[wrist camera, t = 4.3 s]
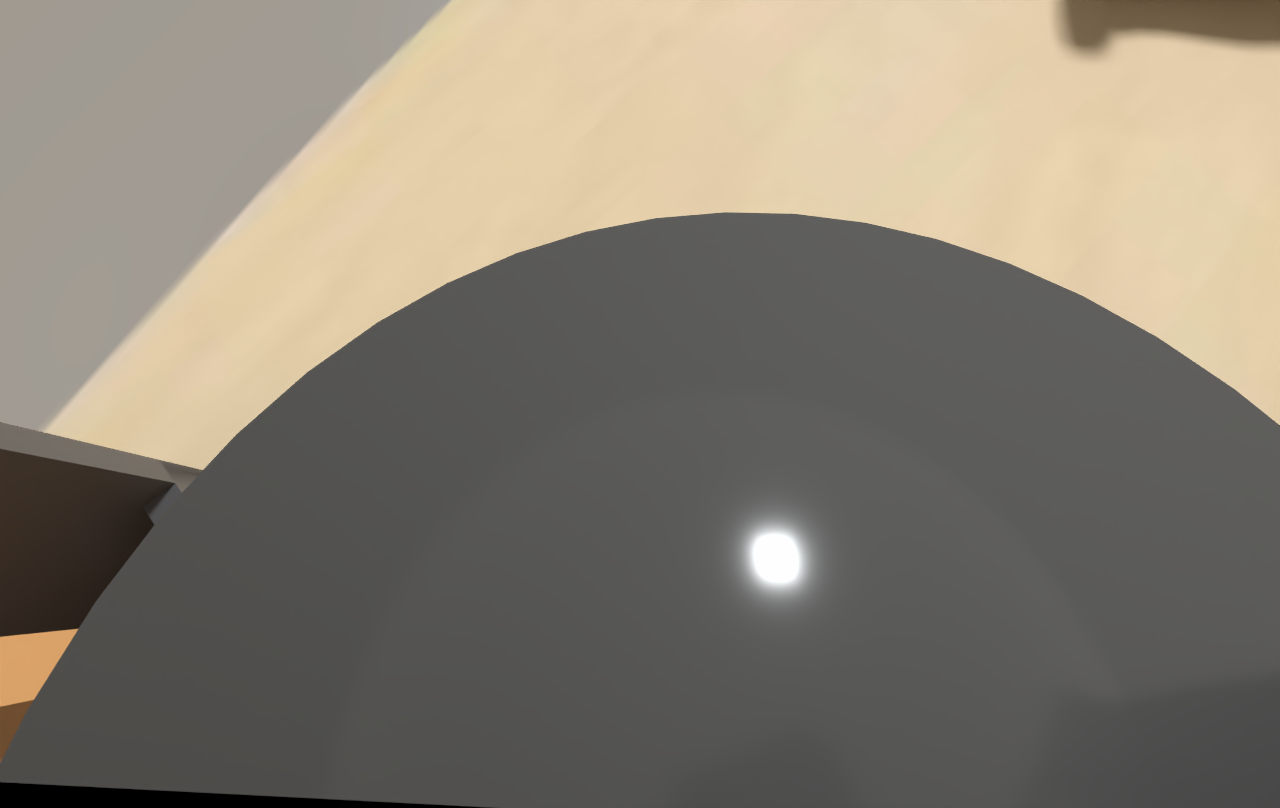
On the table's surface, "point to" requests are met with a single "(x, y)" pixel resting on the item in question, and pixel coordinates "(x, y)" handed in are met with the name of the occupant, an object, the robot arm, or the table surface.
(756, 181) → the table surface
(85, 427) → the table surface
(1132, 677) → the jar
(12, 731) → the block
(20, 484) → the tray
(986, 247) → the table surface
